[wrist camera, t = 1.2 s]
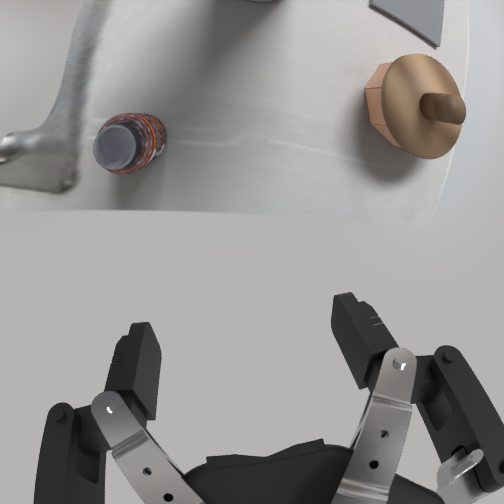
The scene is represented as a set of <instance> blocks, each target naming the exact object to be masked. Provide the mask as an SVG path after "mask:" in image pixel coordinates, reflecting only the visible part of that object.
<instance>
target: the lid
mask: <svg viewBox="0 0 504 504" xmlns="http://www.w3.org/2000/svg"><path fill="white" fill-rule="evenodd" d="M381 107H382V112H383V116H384V120H385V123H386V125H387V127H388V130H389V132H390V133H391V135H392V137H393V138H394V140H395V141H396V142H397V143H398V144H399V146H400V147H402V148H403V149H404V150H405V151H407V152H408V153H410V154H412V155H414V156H417V157H421V158H424V159H436V158H439V157H441V156H443V155H445V154H446V153H447V152H449V151H450V150H451V148H452V147H453V146H454V144H455V143H456V141H457V139H458V137H459V134H460V131H461V127H462V123H463V122H464V120H465V117H466V107H465V104H464V101H463V100H462V98H461V97H460V93H459V90H458V87H457V85H456V83H455V81H454V79H453V77H452V76H451V74H450V73H449V72H448V70H447V69H446V68H445V67H444V66H443V65H442V64H441V63H440V62H438V61H437V60H436V59H434V58H432V57H430V56H427V55H424V54H410V55H405V56H402V57H400V58H398V59H396V60H395V61H394V62H393V63H392V64H391V65H390V66H389V68H388V69H387V71H386V73H385V75H384V78H383V82H382V86H381Z"/></svg>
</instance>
